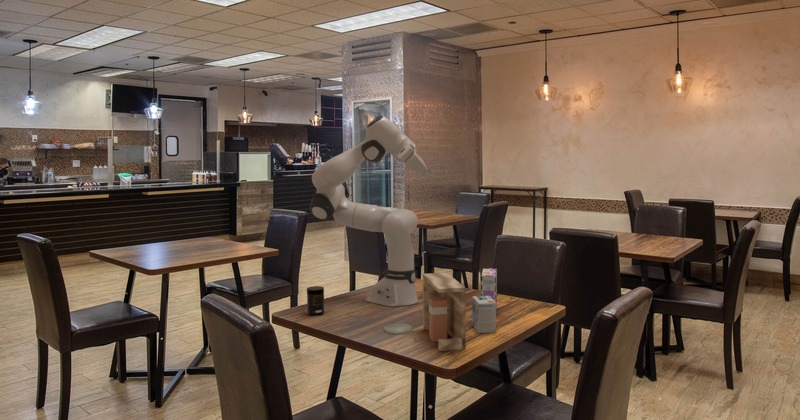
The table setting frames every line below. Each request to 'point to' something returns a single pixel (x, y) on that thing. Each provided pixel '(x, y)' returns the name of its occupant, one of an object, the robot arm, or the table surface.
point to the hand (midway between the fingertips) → (431, 176)
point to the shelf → (455, 308)
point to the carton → (437, 318)
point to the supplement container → (315, 300)
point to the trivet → (398, 328)
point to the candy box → (489, 283)
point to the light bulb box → (484, 314)
